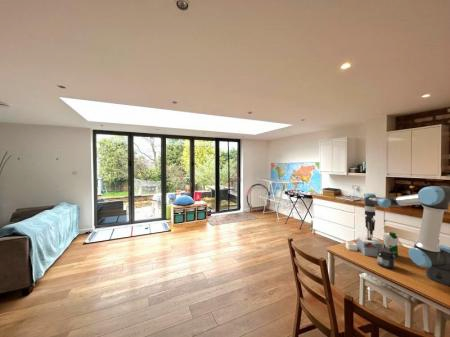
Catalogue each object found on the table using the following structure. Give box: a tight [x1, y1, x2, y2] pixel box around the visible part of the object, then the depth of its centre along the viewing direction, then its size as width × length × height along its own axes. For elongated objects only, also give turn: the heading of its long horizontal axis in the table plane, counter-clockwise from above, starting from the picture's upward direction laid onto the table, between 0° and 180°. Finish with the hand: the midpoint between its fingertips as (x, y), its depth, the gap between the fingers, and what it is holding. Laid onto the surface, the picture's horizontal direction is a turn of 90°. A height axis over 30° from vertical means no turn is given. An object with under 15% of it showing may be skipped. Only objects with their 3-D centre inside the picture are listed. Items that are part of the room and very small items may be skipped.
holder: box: [345, 241, 358, 251], centre depth 173 cm, size 7×7×5 cm
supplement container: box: [376, 247, 396, 270], centre depth 143 cm, size 10×10×12 cm
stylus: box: [367, 222, 372, 245], centre depth 165 cm, size 3×3×20 cm
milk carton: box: [382, 231, 400, 258], centre depth 161 cm, size 9×9×20 cm
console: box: [356, 236, 384, 258], centre depth 165 cm, size 16×14×12 cm
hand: (369, 236), depth 165 cm, fingers closed on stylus, 3 cm apart
